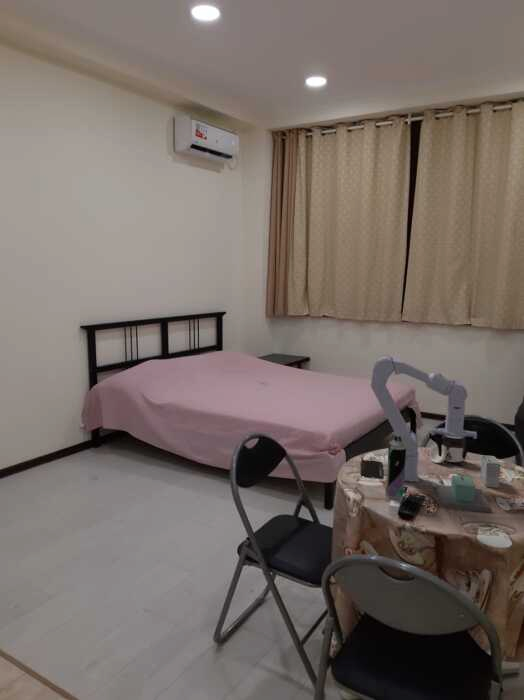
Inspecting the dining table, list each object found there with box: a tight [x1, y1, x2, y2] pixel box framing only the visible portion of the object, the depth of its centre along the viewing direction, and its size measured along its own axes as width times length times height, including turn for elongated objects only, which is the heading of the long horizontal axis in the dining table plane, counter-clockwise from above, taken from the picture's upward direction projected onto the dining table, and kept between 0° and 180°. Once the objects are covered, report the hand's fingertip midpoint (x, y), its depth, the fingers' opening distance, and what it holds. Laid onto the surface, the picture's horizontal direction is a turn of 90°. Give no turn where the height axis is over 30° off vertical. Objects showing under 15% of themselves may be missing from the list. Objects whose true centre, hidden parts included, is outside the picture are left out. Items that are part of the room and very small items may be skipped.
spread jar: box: [429, 435, 468, 465], centre depth 194 cm, size 12×11×12 cm
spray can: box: [385, 435, 406, 500], centre depth 161 cm, size 6×6×20 cm
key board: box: [435, 484, 492, 513], centre depth 160 cm, size 14×14×5 cm
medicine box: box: [479, 455, 501, 489], centre depth 174 cm, size 8×4×9 cm, turn 168°
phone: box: [359, 459, 384, 479], centre depth 185 cm, size 8×1×15 cm
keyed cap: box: [450, 474, 476, 502], centre depth 160 cm, size 5×8×5 cm
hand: (451, 456), depth 173 cm, fingers open, 7 cm apart
